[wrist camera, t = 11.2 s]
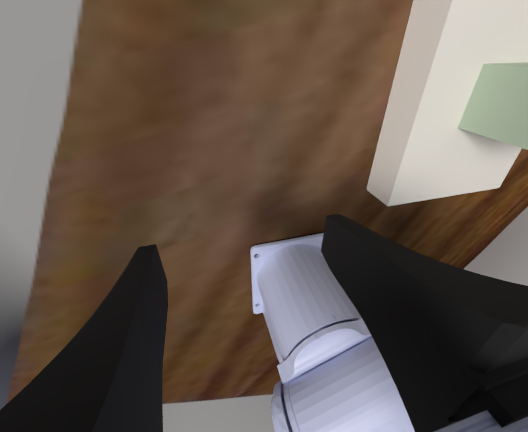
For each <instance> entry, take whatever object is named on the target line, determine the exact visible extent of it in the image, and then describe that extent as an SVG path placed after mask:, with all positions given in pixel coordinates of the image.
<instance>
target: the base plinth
mask: <svg viewBox="0 0 528 432" xmlns="http://www.w3.org/2000/svg"><path fill="white" fill-rule="evenodd" d="M521 62H528V0H413V4H412V8H411V12H410V16H409V20H408V24H407V28H406V32H405V36H404V40H403V44H402V48H401V52H400V56H399V60H398V64H397V68H396V72H395V76H394V80H393V84H392V88H391V92H390V96H389V100H388V104H387V108H386V112H385V116H384V120H383V124H382V128H381V132H380V136H379V140H378V144H377V149H376V153H375V157H374V161H373V165H372V169H371V173H370V177H369V181H368V185H367V189H366V190H367V191H369V192H370V193H371V194H372V195H374V196H375V197H376V198H378V199H379V200H380V201H381V202H383V203H384V204H385V205H386V206H394V205H399V204H405V203H411V202H417V201H423V200H429V199H435V198H441V197H447V196H453V195H459V194H465V193H471V192H477V191H483V190H489V189H495V188H499V187H500V186H501V184H502V182H503V180H504V179H505V177H506V175H507V173H508V172H509V170H510V168H511V166H512V165H513V163H514V161H515V159H516V158H517V156H518V154H519V152H520V151H521V149H522V148H520V147H517V146H514V145H511V144H508V143H505V142H501V141H498V140H495V139H492V138H489V137H486V136H482V135H479V134H476V133H473V132H470V131H467V130H463V129H460V128H458V125H459V123H460V120H461V118H462V116H463V113H464V111H465V108H466V106H467V103H468V101H469V98H470V96H471V93H472V91H473V88H474V86H475V84H476V81H477V79H478V76H479V74H480V71H481V69H482V66H483V64H490V63H521Z"/></svg>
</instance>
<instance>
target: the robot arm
mask: <svg viewBox="0 0 528 432" xmlns="http://www.w3.org/2000/svg"><path fill="white" fill-rule="evenodd" d="M250 252H251V278H252V304H253V312H254V313H255V314H258V313H262V312H263V314H264V317H265V320H266V323H267V326H268V329H269V333H270V336H271V339H272V342H273V345H274V348H275V351H276V354H277V358H278V360H279V362H280V364H279V365H278V366H277V367H278V371H279V374H280V377H281V381H279V382H277V383H276V385H275V386H274V390H273V397H272V403H271V410H272V419H273V424H274V429H275V432H528V286H525V285H520V284H516V283H511V282H507V281H503V280H499V279H495V278H492V277H488V276H483V275H480V274H477V273H473V272H470V271H467V270H464V269H461V268H458V267H454V266H451V265H448V264H445V263H443V262H440V261H437V260H434V259H432V258H429V257H427V256H424V255H422V254H419V253H417V252H415V251H412V250H410V249H408V248H406V247H403V246H401V245H399V244H397V243H395V242H393V241H391V240H389V239H387V238H385V237H383V236H381V235H379V234H377V233H375V232H373V231H371V230H369V229H368V228H366V227H364V226H362V225H360V224H358V223H356V222H354V221H353V220H351V219H349V218H347V217H345V216H343V215H340V214H335V215H329V216H326V222H325V228H324V233H321V234H315V235H310V236H304V237H299V238H293V239H288V240H282V241H277V242H271V243H266V244H260V245H255V246H253V247H252V248H251V250H250ZM255 254H258V255H255ZM167 310H168V291H167V279H166V276H165V273H164V269H163V266H162V263H161V259H160V256H159V253H158V249H157V246H156V244H155V245H149V246H143V247H139V248H138V249H137V250H136V252H135V254H134V255H133V257H132V258H131V260H130V262H129V263H128V265H127V267H126V268H125V270H124V271H123V273H122V274H121V276H120V277H119V279H118V280H117V282H116V283H115V285H114V286H113V288H112V289H111V291H110V292H109V293H108V295H107V296H106V298H105V299H104V300H103V302H102V303H101V304H100V306H99V307H98V308H97V310H96V311H95V312H94V313H93V315H92V316H91V317H90V319H89V320H88V321H87V322H86V323H85V325H84V326H83V327H82V328H81V329H80V331H79V332H78V333H77V334H76V335H75V336H74V337H73V339H72V340H71V341H70V342H69V343H68V344H67V345H66V346H65V348H64V349H63V350H62V351H61V352H60V353H59V354H58V355H57V356H56V357H55V358H54V359H53V360H52V361H51V362H50V363H49V364H48V365H47V366H46V367H45V368H44V369H43V370H42V371H41V372H40V373H39V374H38V375H37V376H36V377H35V378H34V379H33V380H32V381H31V382H30V383H29V384H28V385H27V386H26V387H25V388H24V389H23V390H22V391H21V392H20V393H18V394H17V395H16V396H15V397H14V398H13V399H12V400H11V401H10V402H9V403H8V404H6V405H5V406H4V407H3V408H2V409H1V410H0V432H163V420H162V419H163V418H162V417H163V416H162V367H163V354H164V343H165V332H166V321H167Z"/></svg>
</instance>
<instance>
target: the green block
mask: <svg viewBox="0 0 528 432" xmlns="http://www.w3.org/2000/svg"><path fill="white" fill-rule="evenodd" d="M458 128H460V129H463V130H467V131H470V132H473V133H476V134H479V135H482V136H486V137H489V138H492V139H495V140H498V141H501V142H505V143H508V144H511V145H514V146H517V147H520V148H524V149H527V150H528V62H521V63H490V64H483V66H482V69H481V71H480V74H479V76H478V79H477V81H476V84H475V86H474V88H473V91H472V93H471V96H470V98H469V101H468V103H467V106H466V108H465V111H464V113H463V116H462V118H461V120H460V123H459V125H458Z"/></svg>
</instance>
